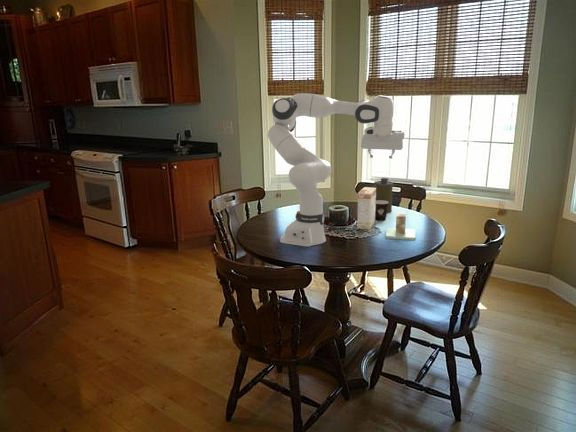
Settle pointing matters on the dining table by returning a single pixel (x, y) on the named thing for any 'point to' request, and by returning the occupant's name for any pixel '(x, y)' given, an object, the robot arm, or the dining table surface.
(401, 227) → the maple block
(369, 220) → the coffeecake box
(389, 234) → the white square tile
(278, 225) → the dining table surface
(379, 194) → the canister
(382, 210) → the coffee mug
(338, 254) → the dining table surface
